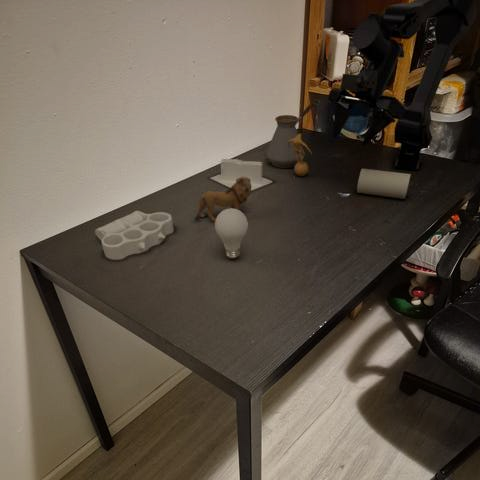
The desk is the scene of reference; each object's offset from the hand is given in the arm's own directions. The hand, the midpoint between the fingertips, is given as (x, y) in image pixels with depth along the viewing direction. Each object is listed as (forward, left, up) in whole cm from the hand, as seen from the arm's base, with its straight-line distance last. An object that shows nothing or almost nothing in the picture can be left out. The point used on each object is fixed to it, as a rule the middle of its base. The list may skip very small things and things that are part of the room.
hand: (348, 141), depth 99 cm
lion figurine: (+18, -25, -15) cm, 34 cm away
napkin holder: (-3, -29, -15) cm, 33 cm away
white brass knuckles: (+35, -40, -15) cm, 55 cm away
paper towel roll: (-5, +9, -14) cm, 18 cm away
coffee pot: (-23, -19, -15) cm, 34 cm away
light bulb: (+35, -16, -15) cm, 41 cm away
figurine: (-10, -14, -15) cm, 23 cm away
